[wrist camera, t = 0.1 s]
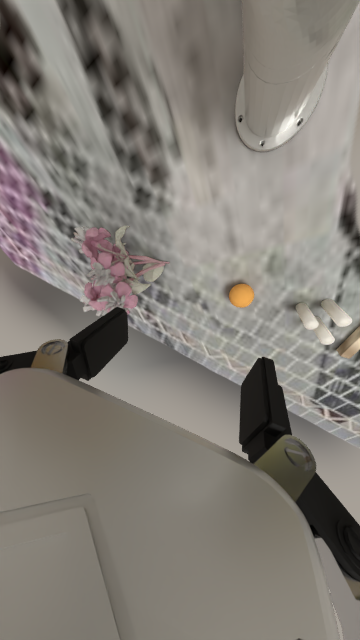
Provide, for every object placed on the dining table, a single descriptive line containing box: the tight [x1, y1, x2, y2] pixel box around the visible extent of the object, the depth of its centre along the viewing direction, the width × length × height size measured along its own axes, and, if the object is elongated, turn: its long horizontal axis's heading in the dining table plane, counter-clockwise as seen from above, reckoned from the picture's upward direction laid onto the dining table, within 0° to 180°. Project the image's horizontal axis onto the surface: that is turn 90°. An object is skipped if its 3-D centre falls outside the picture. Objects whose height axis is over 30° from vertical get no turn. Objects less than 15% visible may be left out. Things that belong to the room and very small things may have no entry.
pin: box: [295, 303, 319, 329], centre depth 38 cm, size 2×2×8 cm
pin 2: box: [321, 299, 352, 327], centre depth 36 cm, size 2×2×8 cm
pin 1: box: [313, 316, 335, 345], centre depth 39 cm, size 2×2×8 cm
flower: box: [71, 225, 169, 316], centre depth 42 cm, size 20×22×25 cm
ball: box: [229, 284, 254, 307], centre depth 42 cm, size 6×6×6 cm
